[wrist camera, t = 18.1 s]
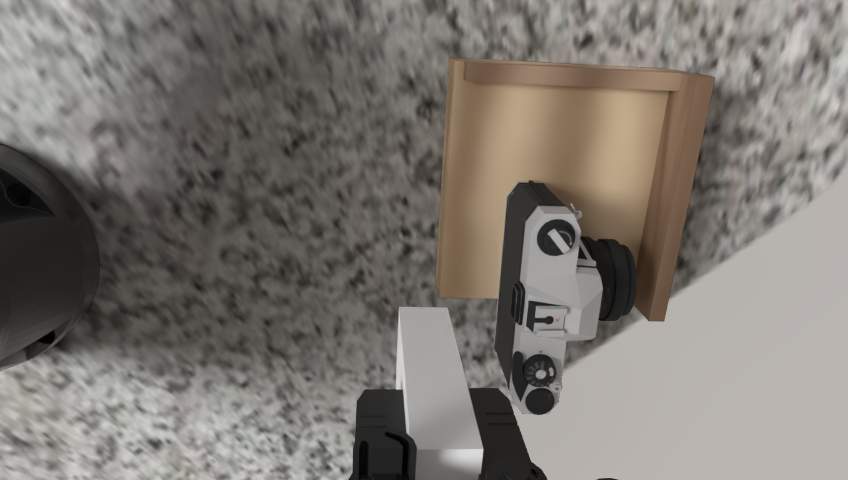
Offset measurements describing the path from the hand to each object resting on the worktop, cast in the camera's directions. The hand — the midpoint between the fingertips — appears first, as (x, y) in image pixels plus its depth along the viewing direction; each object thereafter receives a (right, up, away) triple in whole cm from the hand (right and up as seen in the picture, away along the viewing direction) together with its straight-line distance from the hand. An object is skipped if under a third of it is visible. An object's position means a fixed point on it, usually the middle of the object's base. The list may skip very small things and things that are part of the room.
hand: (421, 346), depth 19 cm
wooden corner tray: (+8, +7, +22) cm, 25 cm away
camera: (+8, +1, +21) cm, 23 cm away
